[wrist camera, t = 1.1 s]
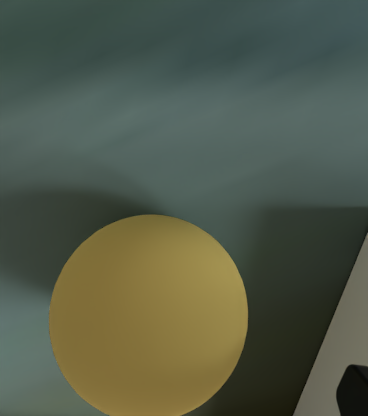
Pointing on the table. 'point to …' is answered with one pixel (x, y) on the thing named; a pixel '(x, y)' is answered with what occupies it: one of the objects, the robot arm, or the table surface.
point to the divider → (340, 344)
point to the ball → (148, 317)
